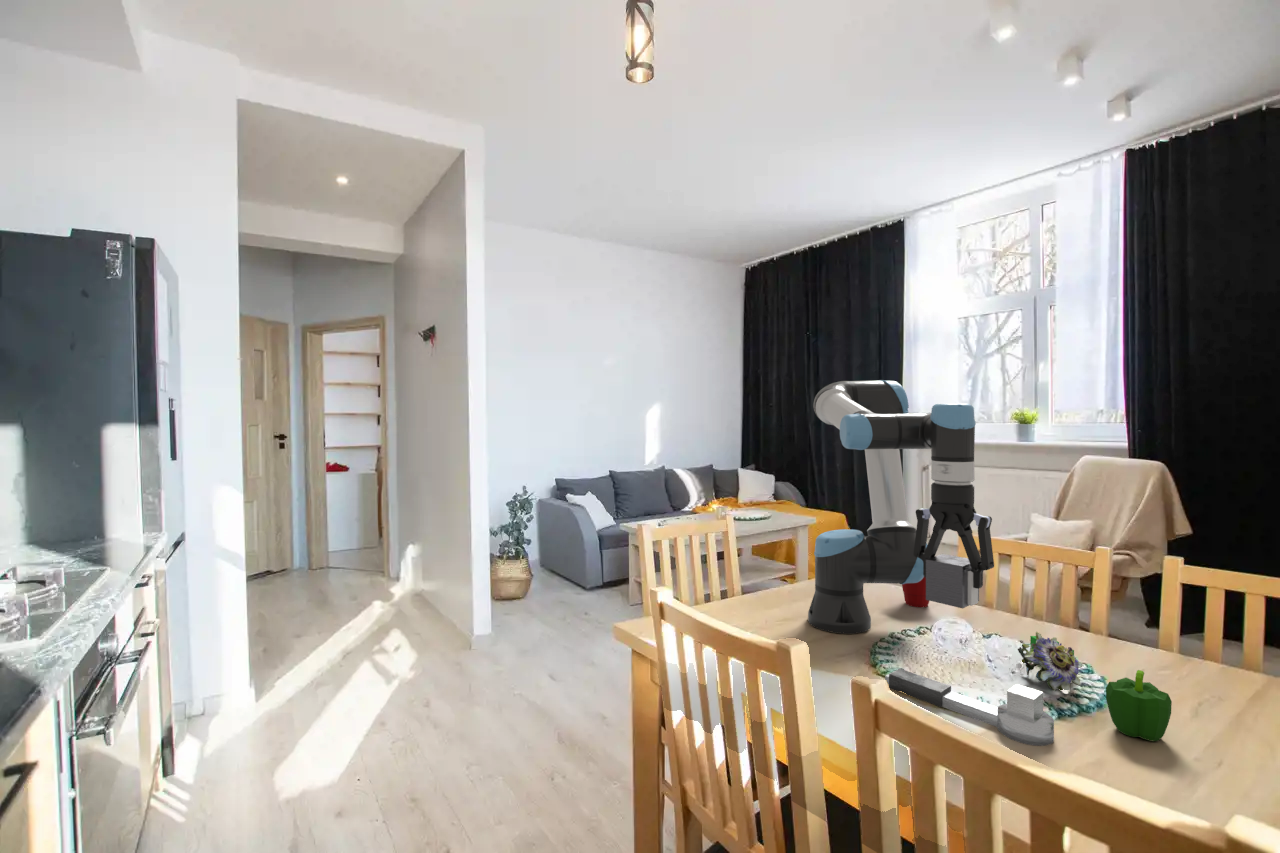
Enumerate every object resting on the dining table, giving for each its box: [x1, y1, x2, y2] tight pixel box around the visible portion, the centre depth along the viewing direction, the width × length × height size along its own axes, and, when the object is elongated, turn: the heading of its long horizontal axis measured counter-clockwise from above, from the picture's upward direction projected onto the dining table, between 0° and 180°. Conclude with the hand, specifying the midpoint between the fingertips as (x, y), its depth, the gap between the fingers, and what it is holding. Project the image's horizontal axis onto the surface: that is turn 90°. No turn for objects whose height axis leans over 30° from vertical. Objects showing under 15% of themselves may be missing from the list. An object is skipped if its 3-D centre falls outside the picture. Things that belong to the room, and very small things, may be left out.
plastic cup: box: [901, 577, 930, 608], centre depth 169 cm, size 11×11×12 cm
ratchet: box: [884, 668, 1055, 747], centre depth 110 cm, size 28×8×7 cm, turn 38°
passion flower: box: [1017, 631, 1083, 692], centre depth 120 cm, size 11×11×12 cm
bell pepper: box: [1105, 669, 1172, 742], centre depth 101 cm, size 8×8×10 cm
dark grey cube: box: [926, 553, 980, 609], centre depth 120 cm, size 7×7×8 cm
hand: (952, 599), depth 120 cm, fingers closed on dark grey cube, 7 cm apart
